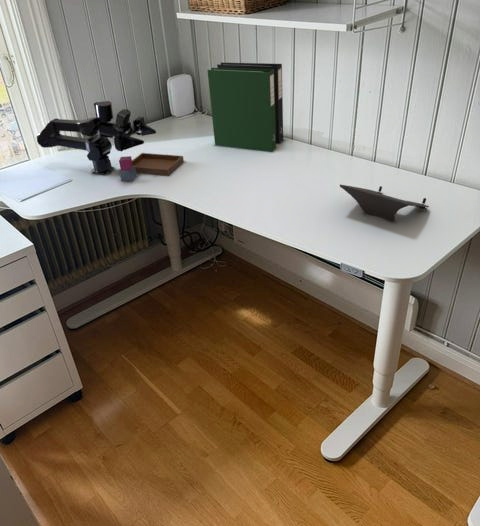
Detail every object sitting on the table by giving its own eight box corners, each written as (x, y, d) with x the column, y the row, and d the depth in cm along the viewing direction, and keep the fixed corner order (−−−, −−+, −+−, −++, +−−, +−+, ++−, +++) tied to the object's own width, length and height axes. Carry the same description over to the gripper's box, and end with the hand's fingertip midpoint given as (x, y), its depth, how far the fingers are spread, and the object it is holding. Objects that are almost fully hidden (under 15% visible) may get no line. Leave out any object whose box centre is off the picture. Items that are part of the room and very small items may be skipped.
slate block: (121, 180, 191) (119, 170, 188) (127, 175, 194) (125, 165, 192) (131, 181, 190) (129, 170, 187) (137, 176, 193) (134, 166, 190)
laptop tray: (427, 228, 157) (436, 201, 155) (401, 228, 139) (411, 197, 137) (364, 209, 170) (371, 183, 168) (332, 206, 153) (341, 177, 150)
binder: (214, 146, 214) (206, 70, 196) (228, 134, 225) (222, 61, 207) (271, 151, 204) (269, 72, 186) (283, 139, 215) (282, 63, 197)
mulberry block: (120, 170, 188) (118, 160, 186) (122, 166, 191) (120, 156, 189) (131, 169, 188) (129, 160, 185) (133, 165, 191) (131, 156, 189)
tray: (126, 172, 198) (124, 166, 196) (143, 158, 208) (141, 152, 207) (168, 175, 192) (167, 169, 190) (183, 161, 202) (182, 155, 201)
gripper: (96, 120, 175) (134, 126, 171) (123, 101, 188) (159, 106, 184) (102, 148, 182) (138, 155, 178) (127, 128, 196) (162, 134, 191)
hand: (149, 137), depth 183 cm, fingers open, 9 cm apart
